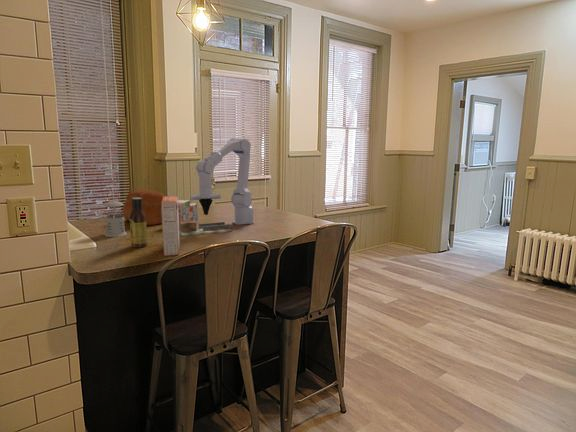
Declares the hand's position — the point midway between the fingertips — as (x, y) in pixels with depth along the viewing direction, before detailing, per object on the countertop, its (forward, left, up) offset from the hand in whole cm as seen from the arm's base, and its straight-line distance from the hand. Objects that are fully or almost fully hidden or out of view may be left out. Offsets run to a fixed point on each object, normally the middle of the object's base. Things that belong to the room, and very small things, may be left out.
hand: (205, 214), depth 197 cm
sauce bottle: (+34, +17, -8) cm, 39 cm away
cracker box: (+24, +30, -8) cm, 39 cm away
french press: (+40, -10, -8) cm, 42 cm away
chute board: (+2, 0, -8) cm, 8 cm away
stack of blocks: (+5, -21, -8) cm, 23 cm away
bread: (+22, -33, -8) cm, 40 cm away
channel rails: (-4, 0, -7) cm, 8 cm away
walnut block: (+9, 0, -7) cm, 11 cm away
